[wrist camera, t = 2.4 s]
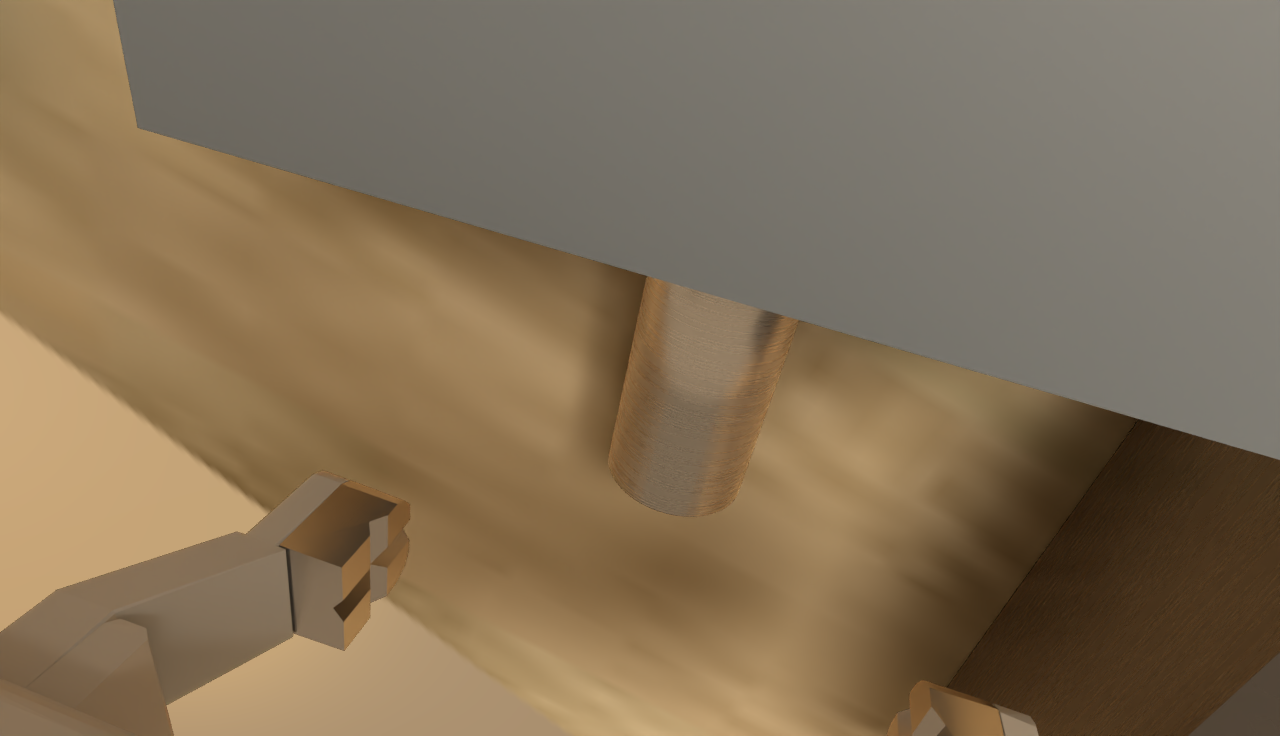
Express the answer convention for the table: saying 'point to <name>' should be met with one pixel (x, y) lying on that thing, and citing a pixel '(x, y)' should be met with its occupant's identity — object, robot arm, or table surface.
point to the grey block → (813, 162)
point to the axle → (694, 397)
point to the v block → (1149, 601)
